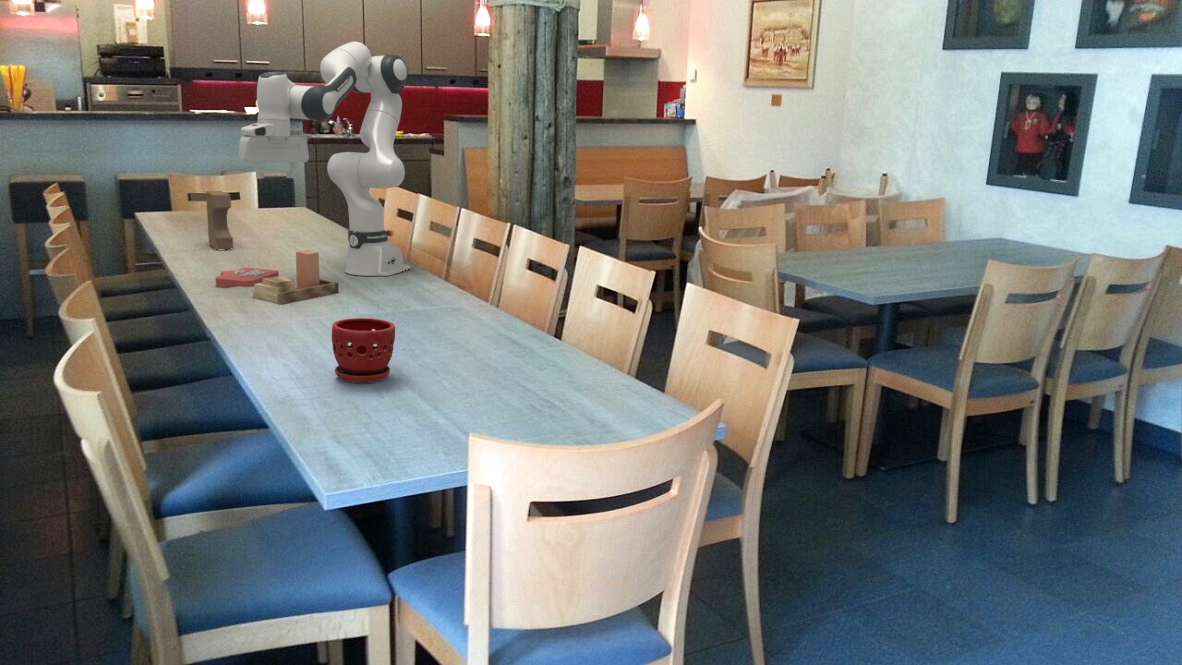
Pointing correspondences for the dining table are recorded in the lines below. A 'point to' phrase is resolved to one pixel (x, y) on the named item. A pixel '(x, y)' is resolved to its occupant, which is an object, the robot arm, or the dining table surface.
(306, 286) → the salmon orange upright block
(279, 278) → the offcut stack
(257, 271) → the plaque
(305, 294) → the brown wooden tray
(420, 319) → the dining table surface
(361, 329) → the plant pot
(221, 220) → the decorative block
